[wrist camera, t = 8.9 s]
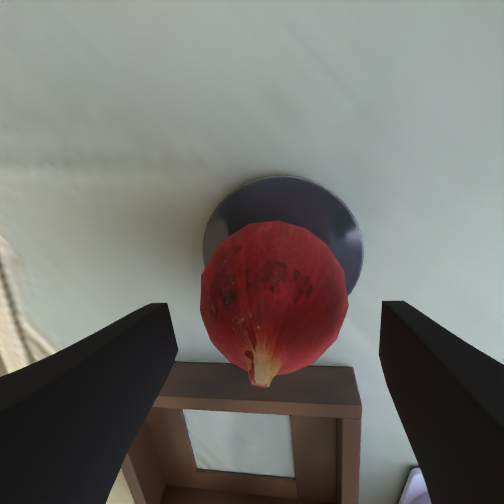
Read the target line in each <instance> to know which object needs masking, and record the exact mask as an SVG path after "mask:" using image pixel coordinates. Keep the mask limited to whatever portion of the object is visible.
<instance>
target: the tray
mask: <svg viewBox="0 0 504 504" xmlns="http://www.w3.org/2000/svg"><path fill="white" fill-rule="evenodd" d="M182 409H193V410H210V411H227V412H244V413H261V414H278V415H291V425H292V438H293V451H294V464H295V478H296V479H292V478H282V477H272V476H261V475H251V474H241V473H230V472H220V471H210V470H200V469H197V467H196V463H195V459H194V456H193V452H192V448H191V444H190V440H189V436H188V432H187V428H186V424H185V420H184V416H183V412H182ZM361 418H362V404H361V399H360V395H359V391H358V386H357V382H356V378H355V374H354V369H353V368H352V367H319V366H306V367H303V368H301V369H298V370H296V371H294V372H291V373H289V374H280V375H275V376H274V377H273V379H272V381H271V383H270V385H269V387H266V388H262V387H259V386H255V385H252V384H251V382H250V380H249V375H248V372H247V371H246V370H244V369H242V368H240V367H238V366H237V365H235V364H214V363H178V362H174V363H173V366H172V368H171V371H170V373H169V376H168V378H167V380H166V382H165V384H164V386H163V387H162V389H161V391H160V393H159V395H158V397H157V399H156V400H155V402H154V404H153V406H152V408H151V409H150V411H149V413H148V415H147V417H146V419H145V420H144V422H143V424H142V426H141V428H140V430H139V431H138V433H137V435H136V437H135V439H134V441H133V443H132V445H131V447H130V449H129V451H128V453H127V455H126V457H125V459H124V461H123V464H122V466H121V469H122V471H123V474H124V476H125V479H126V481H127V484H128V487H129V489H130V492H131V494H132V497H133V499H134V502H135V504H358V490H359V466H360V443H361Z"/></svg>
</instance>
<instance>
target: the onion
mask: <svg viewBox="0 0 504 504" xmlns="http://www.w3.org/2000/svg"><path fill="white" fill-rule="evenodd" d="M348 306H349V305H348V298H347V291H346V283H345V276H344V270H343V268H342V267H341V265H340V264H339V262H338V261H337V259H336V258H335V256H334V255H333V253H332V252H331V250H330V249H329V247H328V246H327V245H326V243H324V242H323V241H322V240H320V239H319V238H318V237H316V236H315V235H314V234H313V233H311V232H310V231H309V230H307V229H306V228H303V227H300V226H296V225H293V224H289V223H286V222H282V221H269V222H258V223H250V224H248V225H247V226H245V227H243V228H242V229H240V230H239V231H237V232H235V233H234V234H232V235H231V236H229V237H227V238H226V239H224V240H223V241H222V242H220V243H219V244H218V246H217V248H216V249H215V251H214V253H213V255H212V256H211V258H210V260H209V262H208V263H207V265H206V267H205V269H204V271H203V273H202V276H201V300H200V312H201V316H202V319H203V322H204V325H205V327H206V330H207V332H208V335H209V338H210V340H211V341H212V343H213V344H214V346H215V347H216V348H217V349H218V350H219V351H220V352H221V353H222V354H223V355H224V356H225V357H226V358H227V359H228V360H229V361H230V362H232V363H233V364H235V365H237V366H238V367H240V368H242V369H244V370H246V371H247V372H248V375H249V380H250V382H251V384H252V385H255V386H259V387H262V388H266V387H269V385H270V383H271V381H272V379H273V377H274V376H275V375H280V374H289V373H291V372H294V371H296V370H298V369H301V368H303V367H306V366H308V365H310V364H313V363H314V362H315V361H316V360H317V359H318V358H319V357H320V356H321V355H322V354H323V353H324V352H325V351H326V350H327V349H328V348H329V347H330V346H331V345H332V344H333V343H334V342H335V340H336V339H337V337H338V334H339V331H340V329H341V326H342V324H343V321H344V318H345V316H346V313H347V309H348Z"/></svg>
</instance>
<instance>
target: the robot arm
mask: <svg viewBox="0 0 504 504" xmlns="http://www.w3.org/2000/svg"><path fill="white" fill-rule="evenodd" d="M177 352H178V347H177V342H176V338H175V334H174V330H173V325H172V321H171V317H170V312H169V308H168V304H167V303H151V304H148V305H146V306H144V307H142V308H140V309H138V310H136V311H134V312H132V313H130V314H128V315H126V316H125V317H123V318H121V319H119V320H117V321H116V322H114V323H112V324H110V325H108V326H107V327H105V328H103V329H101V330H99V331H98V332H96V333H94V334H92V335H90V336H88V337H86V338H84V339H82V340H80V341H79V342H77V343H75V344H73V345H71V346H69V347H67V348H65V349H63V350H61V351H59V352H57V353H55V354H53V355H51V356H49V357H46V358H44V359H42V360H40V361H38V362H35V363H33V364H31V365H29V366H26V367H24V368H22V369H19V370H17V371H15V372H12V373H10V374H7V375H4V376H2V377H0V504H106V501H107V499H108V496H109V494H110V491H111V489H112V487H113V484H114V482H115V480H116V477H117V475H118V473H119V471H120V468H121V466H122V464H123V461H124V459H125V457H126V455H127V453H128V451H129V449H130V447H131V445H132V443H133V441H134V439H135V437H136V435H137V433H138V431H139V430H140V428H141V426H142V424H143V422H144V420H145V419H146V417H147V415H148V413H149V411H150V409H151V408H152V406H153V404H154V402H155V400H156V399H157V397H158V395H159V393H160V391H161V389H162V387H163V386H164V384H165V382H166V380H167V378H168V376H169V373H170V371H171V368H172V366H173V363H174V361H175V358H176V355H177ZM379 357H380V361H381V365H382V369H383V373H384V376H385V380H386V384H387V387H388V389H389V392H390V394H391V397H392V399H393V402H394V404H395V407H396V410H397V412H398V414H399V417H400V419H401V422H402V424H403V427H404V429H405V432H406V434H407V437H408V439H409V442H410V444H411V447H412V449H413V452H414V454H415V457H416V459H417V462H418V464H419V467H420V468H414V469H412V470H411V472H410V474H409V477H408V480H407V482H406V485H405V488H404V490H403V493H402V496H401V499H400V501H399V504H504V365H503V364H501V363H500V362H498V361H496V360H495V359H493V358H491V357H490V356H488V355H486V354H484V353H483V352H481V351H479V350H478V349H476V348H474V347H473V346H471V345H470V344H468V343H466V342H465V341H463V340H462V339H460V338H459V337H457V336H456V335H454V334H452V333H451V332H449V331H448V330H446V329H445V328H443V327H442V326H440V325H439V324H437V323H436V322H435V321H433V320H432V319H430V318H429V317H427V316H426V315H424V314H423V313H421V312H420V311H418V310H417V309H416V308H414V307H412V306H411V305H409V304H408V303H406V302H404V301H382V313H381V329H380V345H379Z"/></svg>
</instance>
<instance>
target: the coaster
mask: <svg viewBox="0 0 504 504" xmlns="http://www.w3.org/2000/svg"><path fill="white" fill-rule="evenodd" d="M269 221H282V222H286V223H289V224H293V225H296V226H300V227H303V228H306V229H307V230H309V231H310V232H311V233H313V234H314V235H315V236H316V237H318V238H319V239H320V240H322V241H323V242H324V243H326V245H327V246H328V247H329V249H330V250H331V252H332V253H333V255H334V256H335V258H336V259H337V261H338V262H339V264H340V265H341V267H342V268H343V270H344V276H345V283H346V291H347V297H348V296H349V294H350V293H351V292H352V290H353V288H354V287H355V285H356V283H357V281H358V278H359V276H360V273H361V269H362V265H363V257H364V252H363V241H362V235H361V232H360V229H359V226H358V224H357V222H356V220H355V218H354V216H353V215H352V213H351V212H350V210H349V209H348V208H347V206H346V205H345V204H344V203H343V201H342V200H341V199H340V198H339V197H338V196H336V195H335V194H334V193H333V192H331V191H330V190H329V189H327V188H325V187H324V186H322V185H320V184H318V183H316V182H313V181H311V180H309V179H305V178H301V177H296V176H288V175H275V176H268V177H263V178H259V179H256V180H253V181H250V182H248V183H246V184H244V185H242V186H240V187H239V188H237V189H236V190H234V191H233V192H232V193H230V194H229V195H228V196H227V197H226V198H225V199H224V200H223V201H222V202H221V203H220V204H219V205H218V206H217V208H216V209H215V211H214V212H213V214H212V215H211V217H210V219H209V222H208V224H207V227H206V230H205V233H204V239H203V260H204V264H205V267H206V265H207V263H208V262H209V260H210V258H211V256H212V255H213V253H214V251H215V249H216V248H217V246H218V244H219V243H220V242H222V241H223V240H224V239H226V238H227V237H229V236H231V235H232V234H234V233H235V232H237V231H239V230H240V229H242V228H243V227H245V226H247V225H248V224H250V223H258V222H269Z"/></svg>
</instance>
